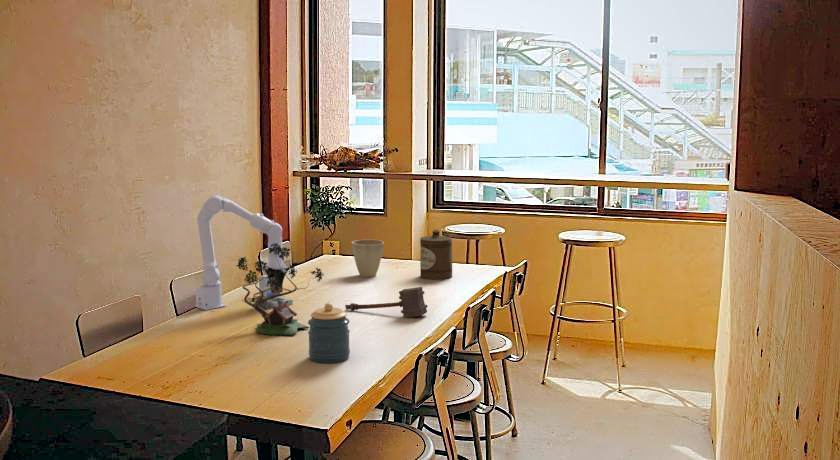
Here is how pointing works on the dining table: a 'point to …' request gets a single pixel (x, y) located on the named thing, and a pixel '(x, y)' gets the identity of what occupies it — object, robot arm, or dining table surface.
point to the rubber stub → (263, 305)
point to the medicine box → (263, 286)
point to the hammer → (401, 303)
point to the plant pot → (367, 256)
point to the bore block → (274, 301)
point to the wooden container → (436, 256)
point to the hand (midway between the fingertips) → (276, 287)
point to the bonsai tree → (282, 315)
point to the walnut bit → (275, 287)
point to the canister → (328, 335)
